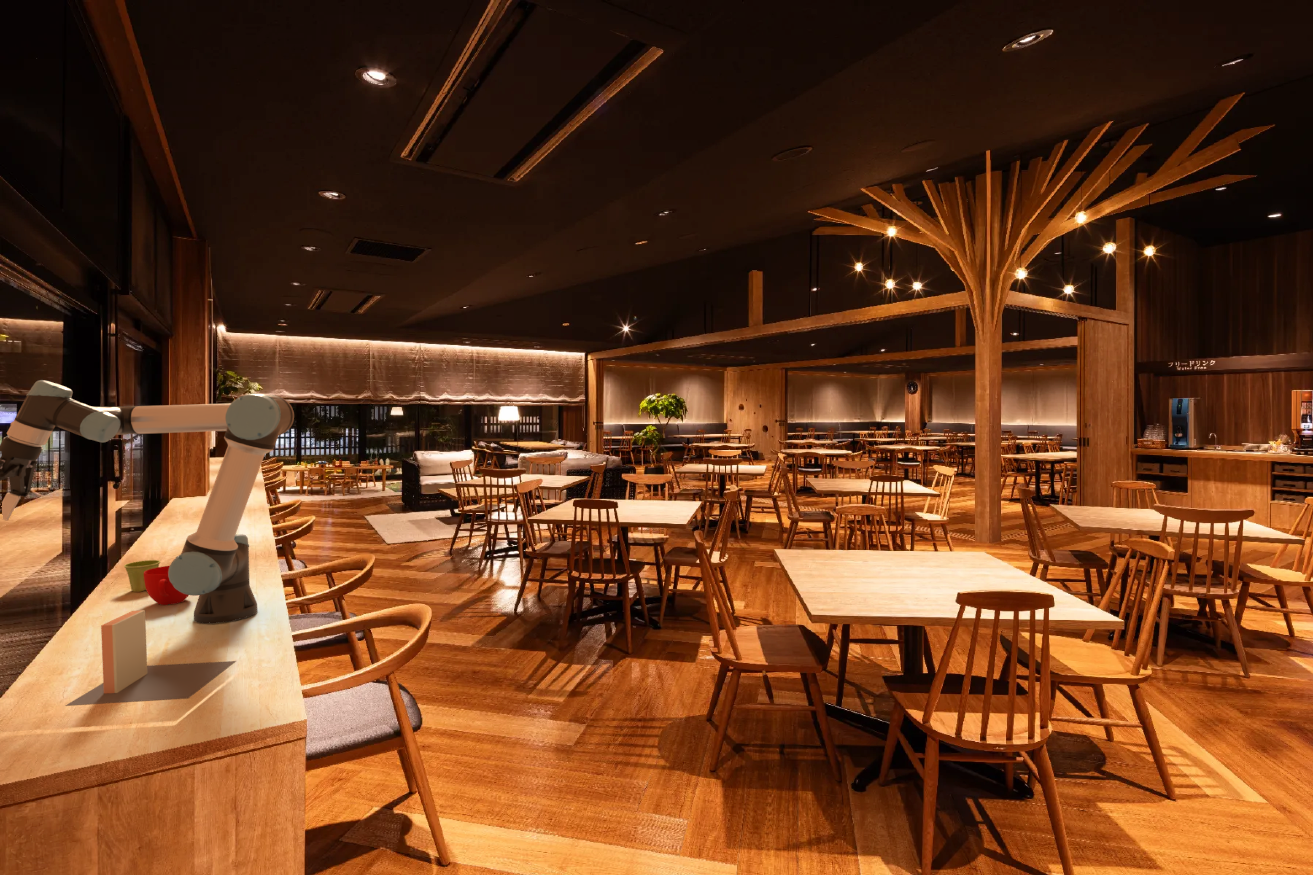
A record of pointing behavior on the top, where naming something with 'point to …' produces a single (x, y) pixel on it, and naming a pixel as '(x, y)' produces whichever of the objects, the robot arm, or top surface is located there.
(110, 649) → the tile
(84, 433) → the robot arm
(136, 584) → the plant pot
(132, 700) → the mat
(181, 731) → the top surface
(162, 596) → the ceramic cup
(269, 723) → the top surface
